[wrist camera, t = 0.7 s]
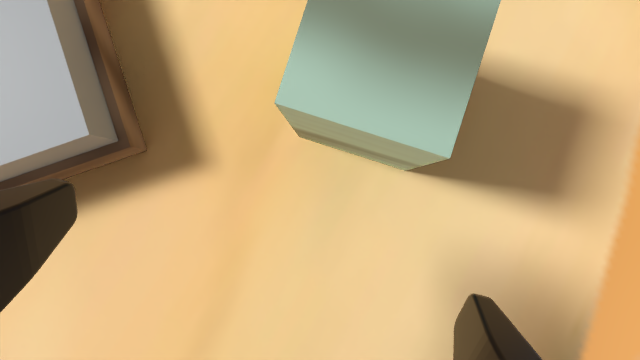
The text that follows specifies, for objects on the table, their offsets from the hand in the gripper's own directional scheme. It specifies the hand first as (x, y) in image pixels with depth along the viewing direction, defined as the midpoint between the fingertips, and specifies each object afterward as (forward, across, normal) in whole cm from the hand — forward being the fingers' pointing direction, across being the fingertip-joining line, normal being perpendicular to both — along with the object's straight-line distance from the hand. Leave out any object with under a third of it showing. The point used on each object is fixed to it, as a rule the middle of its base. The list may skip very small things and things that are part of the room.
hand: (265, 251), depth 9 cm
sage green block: (+15, -2, +1) cm, 15 cm away
